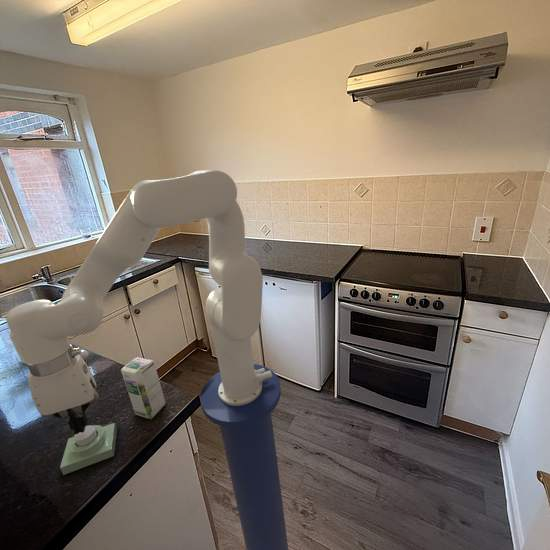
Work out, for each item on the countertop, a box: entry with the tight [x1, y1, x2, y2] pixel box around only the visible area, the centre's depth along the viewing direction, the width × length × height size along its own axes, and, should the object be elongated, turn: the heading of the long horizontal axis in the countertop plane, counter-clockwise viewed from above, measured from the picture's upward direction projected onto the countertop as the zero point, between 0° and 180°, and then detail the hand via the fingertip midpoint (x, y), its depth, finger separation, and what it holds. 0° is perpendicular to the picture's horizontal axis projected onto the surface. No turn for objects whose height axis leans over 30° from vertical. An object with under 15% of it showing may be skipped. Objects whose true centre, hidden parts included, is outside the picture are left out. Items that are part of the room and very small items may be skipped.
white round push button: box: [73, 424, 97, 447], centre depth 67 cm, size 4×4×2 cm
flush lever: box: [79, 349, 90, 361], centre depth 91 cm, size 13×3×3 cm, turn 81°
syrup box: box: [120, 356, 167, 420], centre depth 77 cm, size 6×6×14 cm
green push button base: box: [59, 422, 118, 476], centre depth 68 cm, size 10×8×4 cm
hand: (81, 428), depth 66 cm, fingers closed
